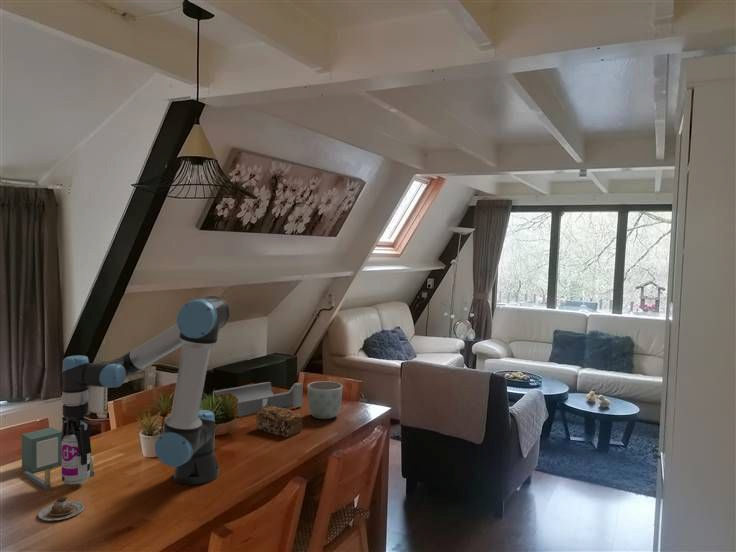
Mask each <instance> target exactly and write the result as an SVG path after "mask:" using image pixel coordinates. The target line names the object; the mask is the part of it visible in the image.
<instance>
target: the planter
mask: <svg viewBox="0 0 736 552" xmlns="http://www.w3.org/2000/svg"><path fill="white" fill-rule="evenodd" d="M306 390H307V406H308V412H309V413H310V414H311V415H312V417H313V418H315V419H319V420H330V419H333V418H335V417H337V415H338V414H339V412H340V411H341V406H342V397H343V396H342V395H343V384H341V383H340V382H336V381H327V380H325V381H324V380H321V381H313V382H309V383H308V384H307V389H306Z"/></svg>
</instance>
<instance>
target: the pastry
mask: <svg viewBox="0 0 736 552" xmlns="http://www.w3.org/2000/svg"><path fill="white" fill-rule="evenodd" d="M84 508H85V505H84V503H82V502H80V501H75V500H69V499H68V497H67V496H63V497H59V498H57V499H56V501H55V502H54V503H53V504H49V505H48V506H45V507H43V508H42V509H40V510H39V512H38V514H37V517H38V518H39V519H40V520H43V521H46V522H51V521H53V522H54V521H60V520H65V519H69V518H72V517H75V516H76V515H78V514H79V513H81V512H82V511H83V510H84ZM74 510H75V511H74ZM73 511H74V513H73ZM48 513H49V514H50V516H52V517H59V518H51V517H50V518H49V517H47V514H48ZM71 513H72V514H71ZM67 515H68V516H67ZM63 516H64V517H63Z"/></svg>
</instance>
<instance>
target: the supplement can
mask: <svg viewBox="0 0 736 552" xmlns="http://www.w3.org/2000/svg"><path fill="white" fill-rule="evenodd" d="M78 454H79V451H78V442H77V439H76V436H75V435H74V434H71V435H68V434H67V435H65V436H64V438H63V440H62V465H61V482H63V483H64V484H65V485H77V484H81V483H84V482H86V481H87V480H88V479H89V478H90V477H91V476H90V456H91V453H89V454H87V473H85V474H82V475H78V456H77V455H78Z"/></svg>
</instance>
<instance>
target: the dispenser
mask: <svg viewBox="0 0 736 552" xmlns="http://www.w3.org/2000/svg"><path fill="white" fill-rule="evenodd" d="M61 438H62V430H61V431H60V430H58V429H56V428H54V427H53V426H51V427H47V428H44V429H43V428H42V429H39V430H34V431H31V432H26V433H22V434H21V468H22V467H23V468H22V469H24V471H22V476H23V477H24V476H25V477H24V478H26V479H27V480H29V481H30V482H32V483H34V484H36V485H37V486H38V487H40V488H42V489H43V490H45V491H46V492H47V491H51V489H52V485H51V467H52V468H54V467H58V466H62V444H61ZM94 459H95V456H93V455H90V476H89V477H94V476H95V467H94V466H95V465H94V462H95V460H94ZM25 469H26V470H25ZM43 470H44V480H43V479H41V478H40V477H38V476H37V475H35V474H34V473H37V472H41V471H43Z"/></svg>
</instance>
